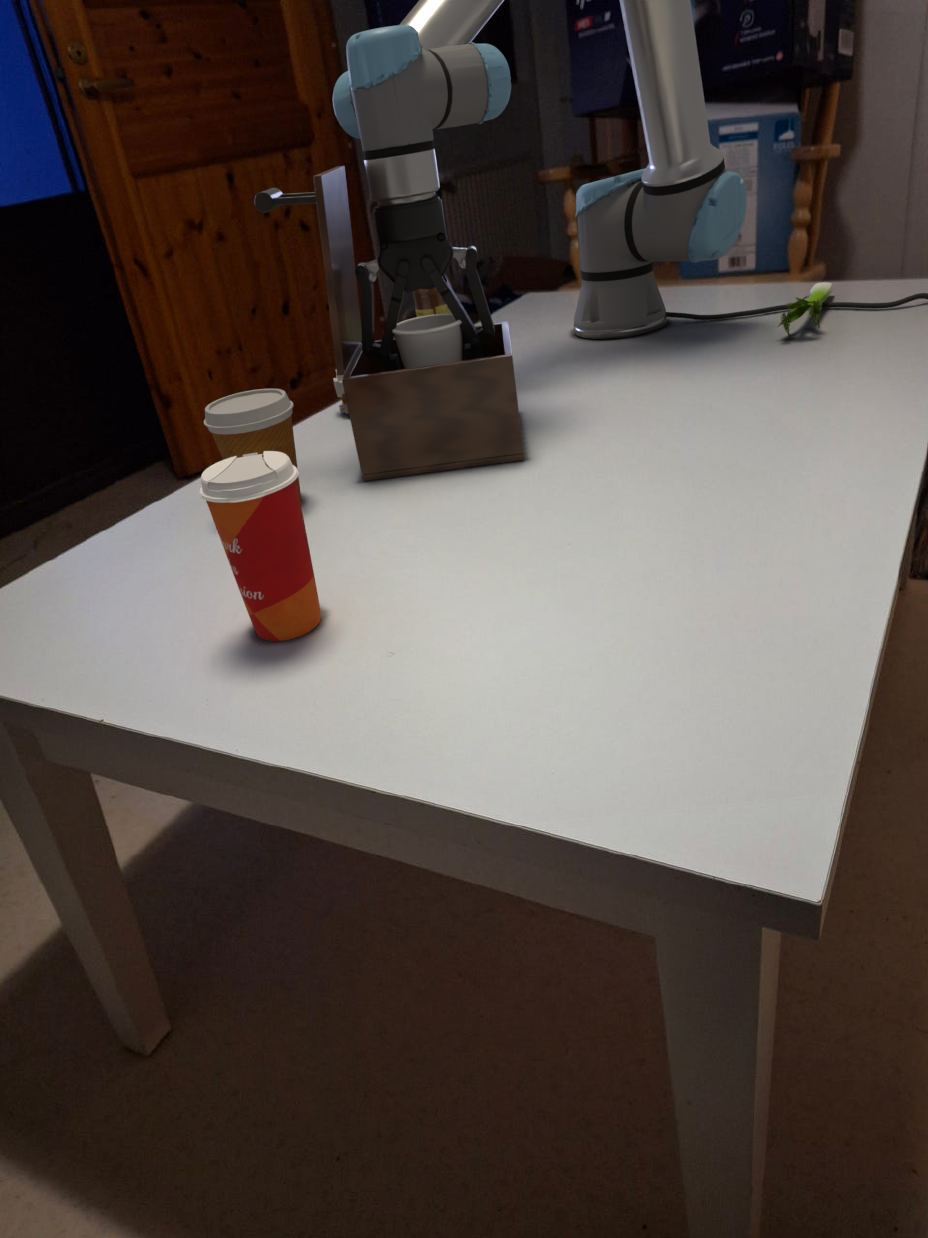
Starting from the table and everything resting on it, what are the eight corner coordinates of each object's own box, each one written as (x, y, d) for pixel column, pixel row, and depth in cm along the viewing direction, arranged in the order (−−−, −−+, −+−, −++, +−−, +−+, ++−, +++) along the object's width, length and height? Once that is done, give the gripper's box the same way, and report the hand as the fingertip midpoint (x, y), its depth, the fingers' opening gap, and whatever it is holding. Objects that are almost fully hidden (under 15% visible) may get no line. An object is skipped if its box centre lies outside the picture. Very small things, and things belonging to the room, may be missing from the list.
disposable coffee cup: (330, 489, 102) (306, 385, 96) (290, 524, 95) (261, 413, 89) (258, 489, 106) (231, 389, 100) (214, 523, 98) (182, 417, 92)
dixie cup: (485, 396, 109) (474, 311, 104) (457, 418, 103) (444, 329, 98) (424, 397, 112) (411, 315, 108) (393, 418, 106) (377, 332, 101)
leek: (844, 305, 148) (824, 338, 124) (799, 313, 152) (771, 346, 128) (841, 267, 146) (820, 292, 122) (796, 276, 149) (767, 302, 126)
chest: (518, 414, 117) (507, 321, 111) (524, 460, 101) (512, 355, 96) (378, 433, 118) (360, 342, 112) (363, 481, 103) (341, 379, 97)
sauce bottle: (468, 364, 143) (449, 230, 134) (465, 374, 138) (445, 236, 128) (428, 369, 144) (407, 237, 135) (423, 379, 139) (400, 243, 129)
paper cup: (249, 609, 79) (203, 457, 72) (335, 595, 79) (298, 442, 72) (236, 655, 72) (185, 493, 65) (331, 640, 72) (290, 475, 65)
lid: (344, 165, 103) (272, 169, 103) (321, 175, 87) (236, 180, 88) (362, 338, 112) (297, 342, 113) (344, 375, 97) (268, 378, 97)
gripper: (502, 181, 99) (524, 385, 110) (317, 210, 100) (357, 408, 111) (503, 186, 92) (527, 403, 103) (305, 217, 94) (350, 427, 105)
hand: (439, 405), depth 107 cm, fingers closed on dixie cup, 8 cm apart
